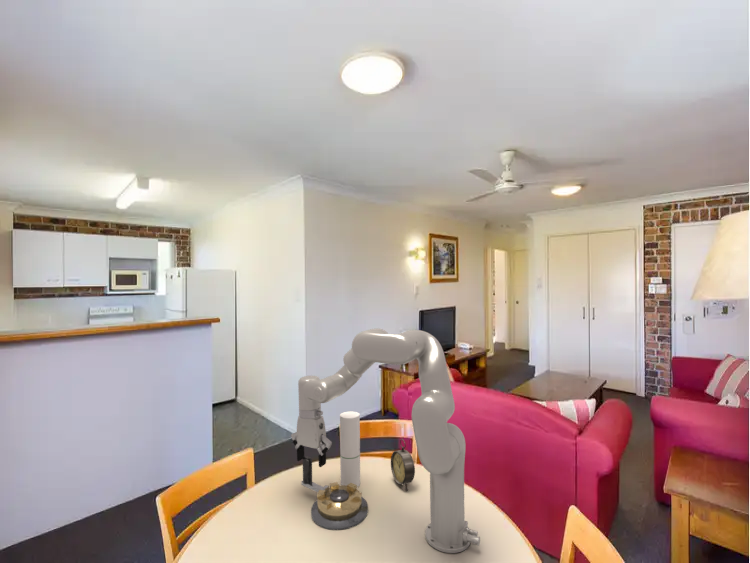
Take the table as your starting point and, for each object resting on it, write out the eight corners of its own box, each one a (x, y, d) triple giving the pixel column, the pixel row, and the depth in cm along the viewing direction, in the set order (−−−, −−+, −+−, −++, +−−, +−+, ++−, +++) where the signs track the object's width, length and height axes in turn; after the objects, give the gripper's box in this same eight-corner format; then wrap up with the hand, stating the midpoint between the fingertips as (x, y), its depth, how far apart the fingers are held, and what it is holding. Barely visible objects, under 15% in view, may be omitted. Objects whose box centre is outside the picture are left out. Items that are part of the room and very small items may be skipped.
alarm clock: (389, 479, 135) (389, 435, 135) (402, 475, 137) (402, 432, 137) (404, 494, 125) (404, 446, 125) (418, 490, 127) (417, 443, 127)
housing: (378, 504, 119) (378, 500, 119) (346, 537, 103) (346, 533, 103) (333, 489, 128) (333, 486, 128) (299, 518, 112) (299, 514, 112)
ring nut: (370, 503, 117) (370, 469, 117) (340, 526, 106) (340, 488, 106) (318, 480, 132) (318, 449, 132) (287, 498, 120) (287, 464, 121)
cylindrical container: (361, 479, 135) (360, 411, 135) (358, 489, 128) (358, 418, 128) (342, 478, 136) (342, 411, 136) (338, 488, 128) (338, 418, 129)
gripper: (336, 412, 125) (338, 463, 125) (298, 406, 134) (299, 453, 133) (322, 419, 119) (324, 472, 118) (283, 412, 127) (285, 461, 127)
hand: (311, 462), depth 126 cm, fingers open, 9 cm apart
